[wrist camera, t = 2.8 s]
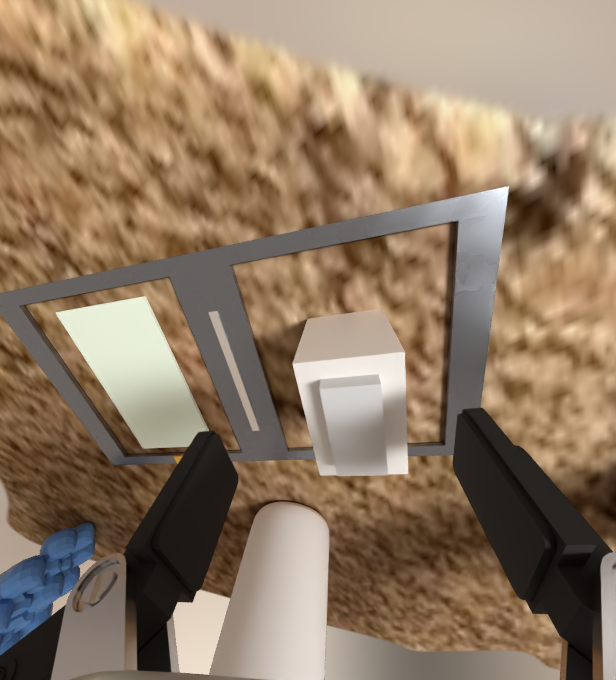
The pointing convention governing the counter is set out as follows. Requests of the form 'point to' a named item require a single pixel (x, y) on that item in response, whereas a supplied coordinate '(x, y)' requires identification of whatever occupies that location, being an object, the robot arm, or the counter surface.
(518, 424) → the counter surface
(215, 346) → the two-window grey frame
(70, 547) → the grapes
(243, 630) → the milk bottle
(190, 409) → the port pad
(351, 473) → the plug
